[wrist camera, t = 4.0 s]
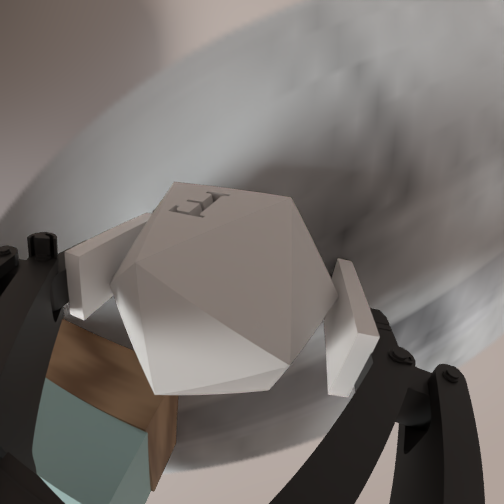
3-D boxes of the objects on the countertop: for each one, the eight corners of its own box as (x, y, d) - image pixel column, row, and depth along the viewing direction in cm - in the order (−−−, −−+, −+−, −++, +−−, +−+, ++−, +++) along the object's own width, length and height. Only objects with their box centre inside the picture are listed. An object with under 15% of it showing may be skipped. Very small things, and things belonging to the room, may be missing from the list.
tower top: (48, 435, 18) (16, 477, 12) (15, 356, 14) (-38, 405, 9) (150, 491, 17) (126, 544, 11) (147, 432, 13) (103, 515, 8)
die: (360, 247, 15) (329, 127, 6) (308, 406, 14) (209, 484, 5) (228, 219, 19) (116, 132, 10) (183, 351, 17) (41, 341, 9)
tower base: (81, 399, 23) (50, 438, 18) (63, 316, 20) (15, 357, 14) (176, 441, 23) (154, 491, 17) (181, 365, 19) (145, 429, 13)
